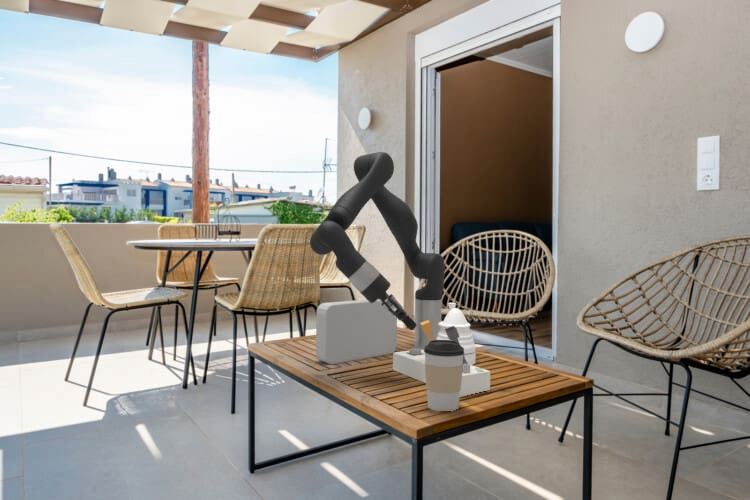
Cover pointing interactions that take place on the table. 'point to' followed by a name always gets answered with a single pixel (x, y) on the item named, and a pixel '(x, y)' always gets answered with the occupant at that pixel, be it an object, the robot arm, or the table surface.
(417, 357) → the white rectangular tray
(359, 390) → the table surface
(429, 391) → the coffee cup
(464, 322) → the honey pot
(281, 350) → the table surface
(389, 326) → the rounded white slab
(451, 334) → the charcoal paddle
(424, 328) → the orange paddle
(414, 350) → the grey button
